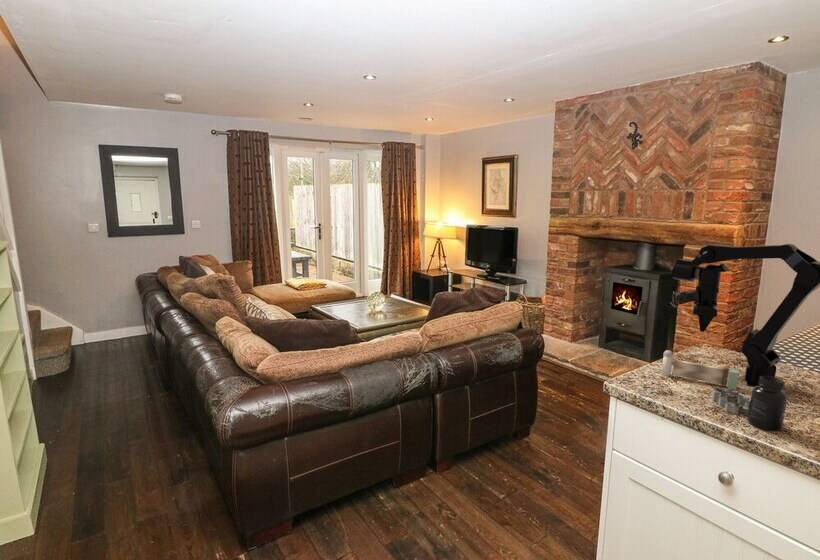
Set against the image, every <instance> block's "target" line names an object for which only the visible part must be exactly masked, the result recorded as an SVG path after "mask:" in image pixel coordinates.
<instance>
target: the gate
mask: <svg viewBox="0 0 820 560" xmlns="http://www.w3.org/2000/svg"><path fill="white" fill-rule="evenodd" d="M672 369H673V370H672V376H677V377H682V378H688V379H693V380H696V381H697V380H698V381H703V382H707V383H711V384H712V383H713V384H717V385H721V386H728V378H729V371H730V368H729V366H728V367H726V366H723V367H719V366H714V365H713V366H712V365H708V364H701V363H696V362H690V361H686V360H680V359H679V360H678V359H674V360H673V367H672Z"/></svg>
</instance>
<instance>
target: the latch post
mask: <svg viewBox="0 0 820 560" xmlns="http://www.w3.org/2000/svg"><path fill="white" fill-rule="evenodd" d="M739 374H740V373H739V369H737V368H734V367H733V368H731V367H730V368H729V371H728V378H727V389H729V388H730V390H731V391H734V390H736V391H737V388H738V380H739V376H740V375H739Z"/></svg>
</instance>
